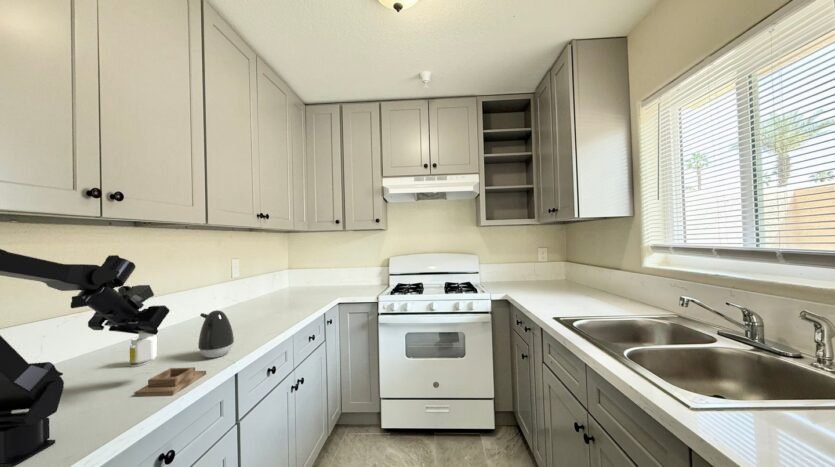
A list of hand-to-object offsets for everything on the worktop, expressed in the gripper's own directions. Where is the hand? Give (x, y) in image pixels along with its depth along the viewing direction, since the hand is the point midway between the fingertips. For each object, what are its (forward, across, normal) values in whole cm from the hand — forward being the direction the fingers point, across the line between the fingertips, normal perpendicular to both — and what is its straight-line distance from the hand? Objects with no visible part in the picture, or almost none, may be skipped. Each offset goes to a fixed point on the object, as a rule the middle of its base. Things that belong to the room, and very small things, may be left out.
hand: (150, 333), depth 88 cm
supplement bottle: (+17, +15, +2) cm, 23 cm away
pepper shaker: (+4, 0, +6) cm, 7 cm away
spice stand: (+8, -9, +11) cm, 16 cm away
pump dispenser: (+22, -5, -4) cm, 23 cm away
